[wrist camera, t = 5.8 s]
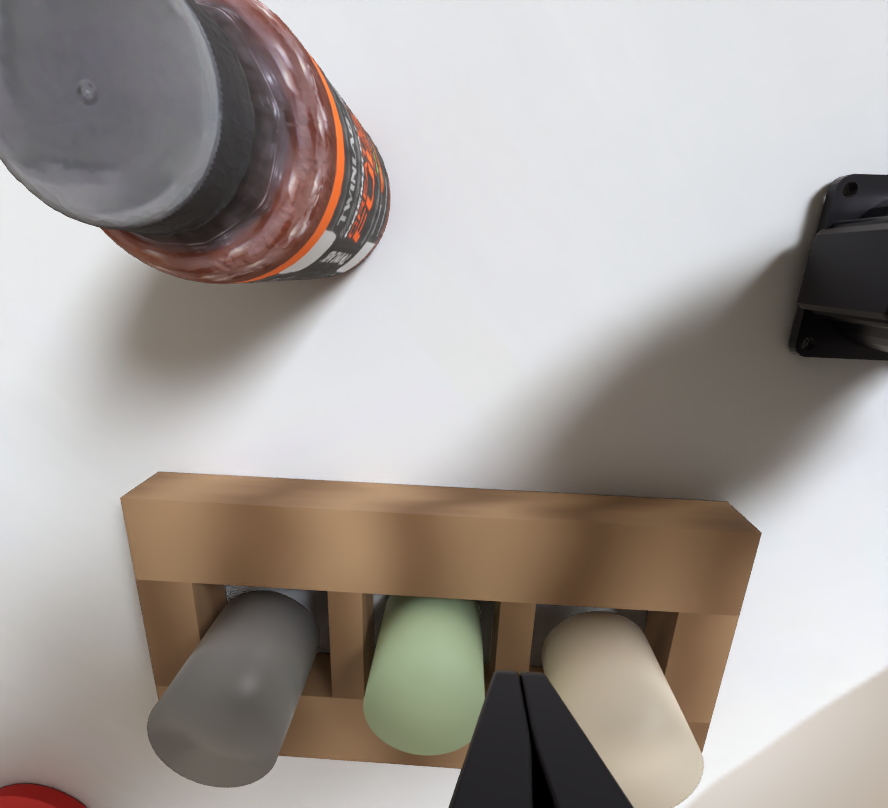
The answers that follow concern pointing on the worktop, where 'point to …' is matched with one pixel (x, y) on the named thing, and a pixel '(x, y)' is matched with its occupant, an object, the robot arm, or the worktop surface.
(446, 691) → the pale green cylinder
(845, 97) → the worktop surface
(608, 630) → the cream cylinder
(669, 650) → the wooden compartment tray
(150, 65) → the supplement bottle
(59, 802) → the canned food
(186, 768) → the grey short cylinder
